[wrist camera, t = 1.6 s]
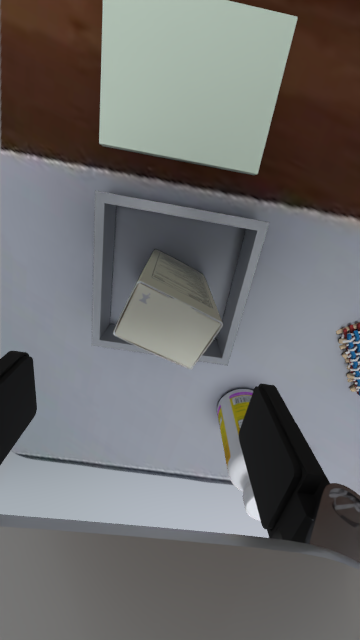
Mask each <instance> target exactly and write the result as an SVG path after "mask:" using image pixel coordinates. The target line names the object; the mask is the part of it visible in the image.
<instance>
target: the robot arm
mask: <svg viewBox="0 0 360 640" xmlns="http://www.w3.org/2000/svg"><path fill="white" fill-rule="evenodd" d="M36 410H37V404H36V392H35V380H34V368H33V359H32V357H29V355H28V353H26V352H18V351H10V352H8V353H7V354H6V355H5V356H3V357H2V358H1V359H0V465H1V463H2V462H3V460H4V459H5V457H6V456H7V455H8V453H9V452H10V450H11V449H12V448H13V446H14V445H15V443H16V442H17V440H18V439H19V438H20V436H21V435H22V433H23V432H24V430H25V429H26V428H27V426H28V425H29V423H30V422H31V420H32V419H33V418H34V416H35V414H36ZM239 442H240V446H241V449H242V453H243V457H244V460H245V464H246V468H247V472H248V475H249V479H250V483H251V486H252V490H253V494H254V498H255V501H256V505H257V509H258V513H259V516H260V520H261V523H262V526H263V528H264V529H267V531H268V534H269V538H263V537H253V536H245V535H236V534H225V533H214V532H202V531H192V530H180V529H169V528H159V527H158V528H157V527H146V526H135V525H123V524H112V523H100V522H88V521H76V520H64V519H50V518H38V517H25V516H14V515H1V514H0V640H360V495H358V494H357V493H356V492H354V491H353V490H351V489H350V488H348V487H346V486H344V485H341V484H337V483H331V484H330V483H329V481H328V479H327V477H326V475H325V474H324V472H323V470H322V468H321V467H320V465H319V463H318V461H317V459H316V458H315V456H314V454H313V452H312V450H311V449H310V447H309V445H308V443H307V442H306V440H305V438H304V436H303V434H302V433H301V431H300V429H299V427H298V425H297V424H296V422H295V421H294V419H293V417H292V415H291V414H290V412H289V410H288V408H287V406H286V405H285V403H284V401H283V399H282V397H281V396H280V394H279V392H278V390H277V388H276V387H275V386H274V385H267V384H260V385H259V387H255V388H254V391H253V394H252V397H251V399H250V402H249V405H248V408H247V411H246V414H245V416H244V419H243V422H242V425H241V428H240V430H239Z"/></svg>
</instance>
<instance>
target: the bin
mask: <svg viewBox="0 0 360 640" xmlns="http://www.w3.org/2000/svg"><path fill="white" fill-rule="evenodd" d="M116 205H118V206H123V207H129V208H134V209H140V210H145V211H151V212H156V213H162V214H168V215H173V216H179V217H184V218H190V219H195V220H201V221H206V222H212V223H218V224H223V225H229V226H234V227H240V228H245V229H246V232H245V236H244V240H243V243H242V247H241V251H240V255H239V259H238V263H237V267H236V270H235V274H234V278H233V282H232V286H231V290H230V293H229V297H228V301H227V305H226V309H225V313H224V317H223V320H222V323H223V327H222V328H221V330H220V332H219V336H218V340H213V341H212V342H211V344H210V345H209V346H208V348H207V349H206V351H205V352H204V353H203V355H202V356H201V357H200V359H199V360H198V361H200V362H207V363H213V364H220V365H227V366H228V363H229V359H230V356H231V352H232V349H233V346H234V342H235V339H236V335H237V332H238V329H239V325H240V322H241V318H242V315H243V311H244V308H245V305H246V301H247V298H248V294H249V291H250V288H251V284H252V281H253V277H254V274H255V271H256V267H257V264H258V260H259V257H260V253H261V250H262V247H263V243H264V240H265V236H266V233H267V230H268V226H269V223H270V222H264V221H259V220H254V219H248V218H243V217H237V216H232V215H226V214H221V213H215V212H210V211H204V210H199V209H193V208H188V207H182V206H177V205H171V204H166V203H160V202H155V201H150V200H144V199H139V198H133V197H128V196H122V195H117V194H111V193H106V192H100V191H95V211H94V257H93V302H92V346H98V347H105V348H111V349H118V350H125V351H132V352H139V353H145V354H152V353H150V352H148V351H146V350H143V349H141V348H139V347H137V346H135V345H133V344H130V343H128V342H126V341H124V340H122V339H120V338H119V337H116V336H115V335H114V334H113V331H114V329H115V327H116V325H115V324H110V313H111V294H112V276H113V258H114V240H115V221H116ZM152 355H155V354H152Z"/></svg>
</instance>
